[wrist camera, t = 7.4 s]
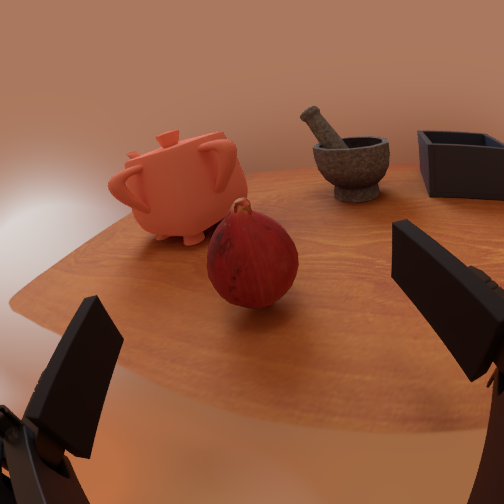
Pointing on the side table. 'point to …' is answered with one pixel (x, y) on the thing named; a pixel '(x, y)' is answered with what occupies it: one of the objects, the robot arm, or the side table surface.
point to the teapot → (181, 185)
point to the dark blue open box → (462, 164)
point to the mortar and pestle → (348, 159)
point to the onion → (251, 258)
